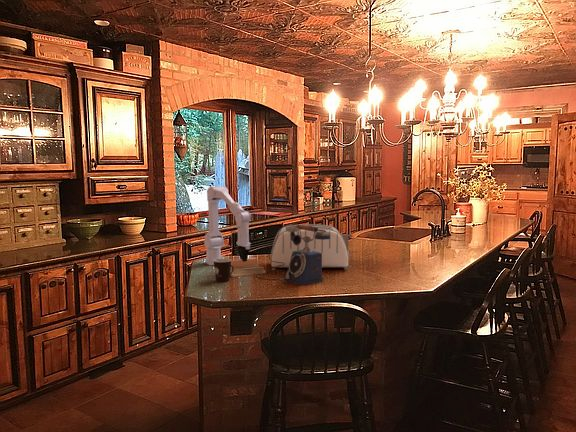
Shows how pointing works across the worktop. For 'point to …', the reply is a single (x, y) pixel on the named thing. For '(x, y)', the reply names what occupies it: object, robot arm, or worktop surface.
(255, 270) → the drying rack
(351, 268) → the worktop surface
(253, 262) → the clay strip
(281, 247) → the toaster
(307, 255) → the rotary telephone
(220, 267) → the coffee mug
